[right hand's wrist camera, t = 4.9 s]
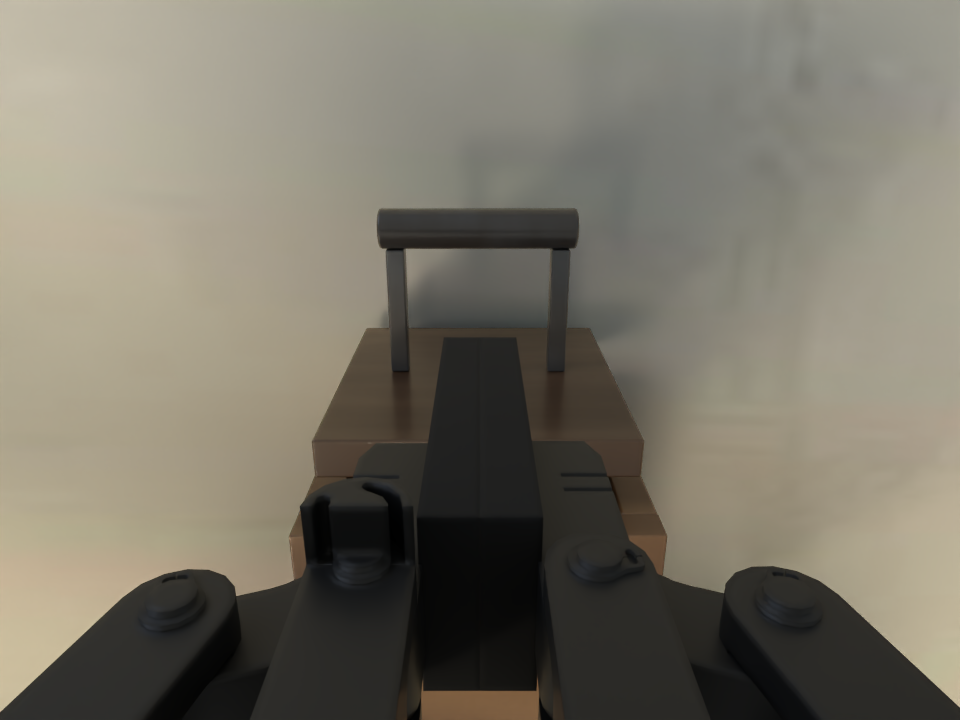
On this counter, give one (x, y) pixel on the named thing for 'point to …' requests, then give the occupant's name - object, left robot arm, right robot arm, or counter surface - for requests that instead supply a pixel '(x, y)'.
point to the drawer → (417, 351)
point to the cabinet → (516, 712)
